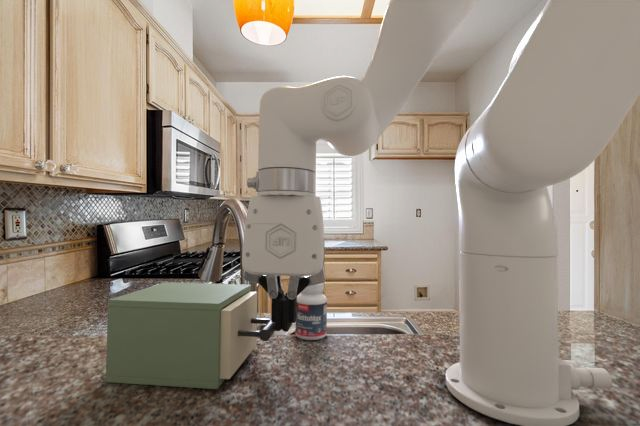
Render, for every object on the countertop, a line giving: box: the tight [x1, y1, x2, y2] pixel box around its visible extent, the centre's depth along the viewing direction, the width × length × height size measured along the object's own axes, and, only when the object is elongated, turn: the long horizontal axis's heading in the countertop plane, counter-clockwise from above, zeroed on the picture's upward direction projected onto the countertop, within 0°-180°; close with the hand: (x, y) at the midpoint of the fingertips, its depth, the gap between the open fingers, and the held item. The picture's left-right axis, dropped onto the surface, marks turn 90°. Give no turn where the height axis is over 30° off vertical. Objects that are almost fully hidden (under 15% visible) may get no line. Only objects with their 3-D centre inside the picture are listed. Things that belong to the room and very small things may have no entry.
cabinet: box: [105, 281, 252, 390], centre depth 43 cm, size 14×12×10 cm
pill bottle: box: [294, 282, 328, 341], centre depth 54 cm, size 5×5×9 cm
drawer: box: [220, 291, 276, 380], centre depth 42 cm, size 17×10×8 cm, turn 84°
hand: (283, 327), depth 41 cm, fingers closed
